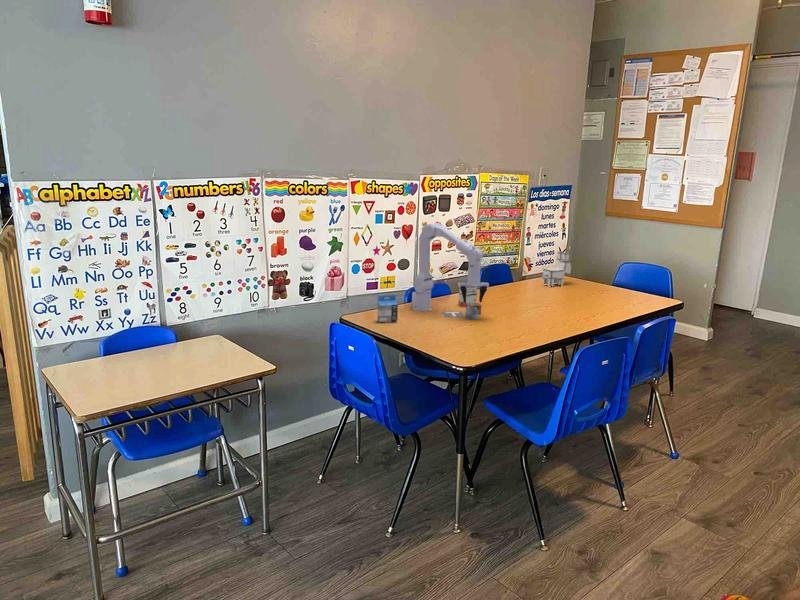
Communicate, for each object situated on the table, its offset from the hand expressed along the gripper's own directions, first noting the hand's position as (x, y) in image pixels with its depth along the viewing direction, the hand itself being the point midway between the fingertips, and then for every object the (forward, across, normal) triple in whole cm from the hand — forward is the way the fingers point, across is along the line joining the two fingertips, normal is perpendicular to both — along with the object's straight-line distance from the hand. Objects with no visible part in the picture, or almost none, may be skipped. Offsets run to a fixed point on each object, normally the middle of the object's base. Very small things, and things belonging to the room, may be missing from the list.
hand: (472, 301), depth 285 cm
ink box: (+9, +3, +24) cm, 26 cm away
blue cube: (+8, 0, 0) cm, 8 cm away
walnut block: (+8, +4, +9) cm, 13 cm away
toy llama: (+9, +67, +72) cm, 99 cm away
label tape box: (+8, -41, -4) cm, 42 cm away
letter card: (+8, -8, +7) cm, 13 cm away
